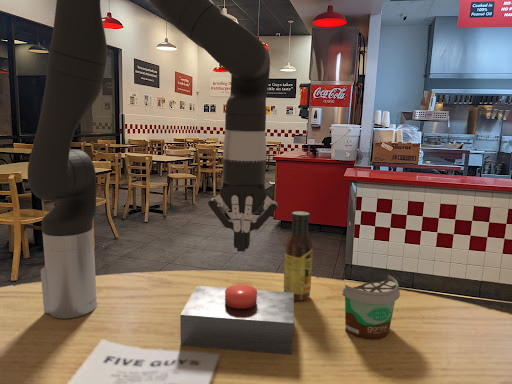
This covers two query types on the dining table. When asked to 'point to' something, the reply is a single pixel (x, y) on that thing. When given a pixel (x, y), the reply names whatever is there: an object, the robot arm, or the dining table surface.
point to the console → (238, 322)
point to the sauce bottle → (298, 258)
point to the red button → (240, 296)
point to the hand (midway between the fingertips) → (241, 250)
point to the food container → (370, 308)
